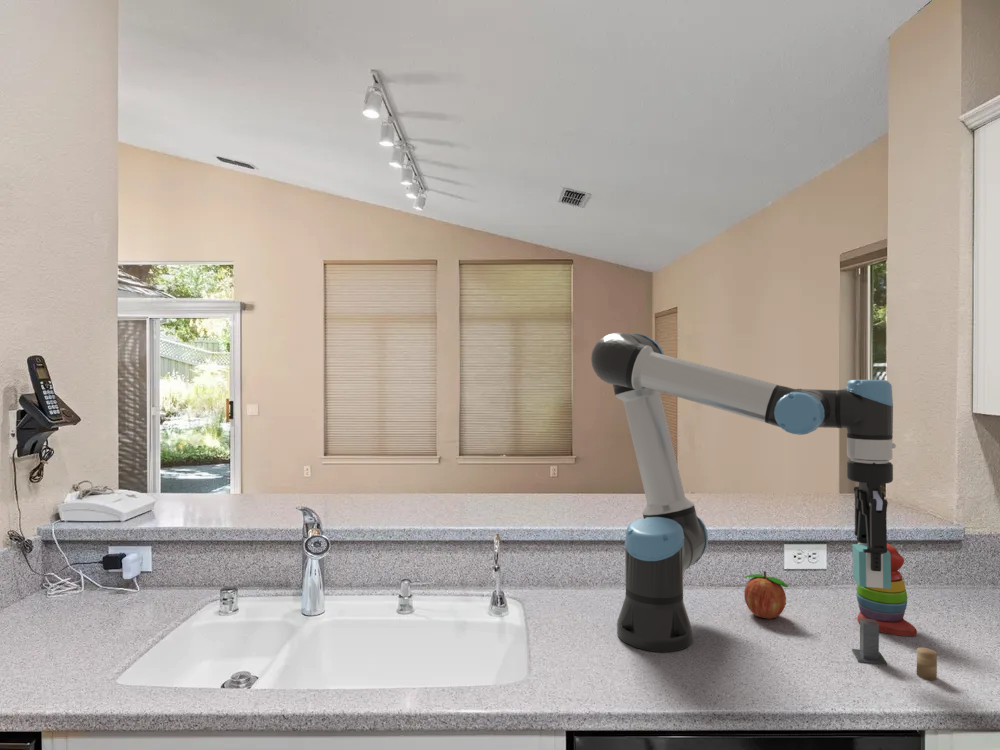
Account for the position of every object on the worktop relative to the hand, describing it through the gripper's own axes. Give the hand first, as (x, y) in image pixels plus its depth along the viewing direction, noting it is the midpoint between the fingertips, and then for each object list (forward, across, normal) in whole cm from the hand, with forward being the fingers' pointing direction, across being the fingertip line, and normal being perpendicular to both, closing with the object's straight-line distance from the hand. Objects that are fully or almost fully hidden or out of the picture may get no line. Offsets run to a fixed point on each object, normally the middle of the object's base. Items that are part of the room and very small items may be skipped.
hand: (870, 581), depth 119 cm
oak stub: (+15, -5, -8) cm, 17 cm away
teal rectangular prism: (0, 0, 0) cm, 0 cm away
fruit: (+15, +16, +17) cm, 28 cm away
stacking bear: (+15, +18, -7) cm, 25 cm away
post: (+15, 0, 0) cm, 15 cm away
